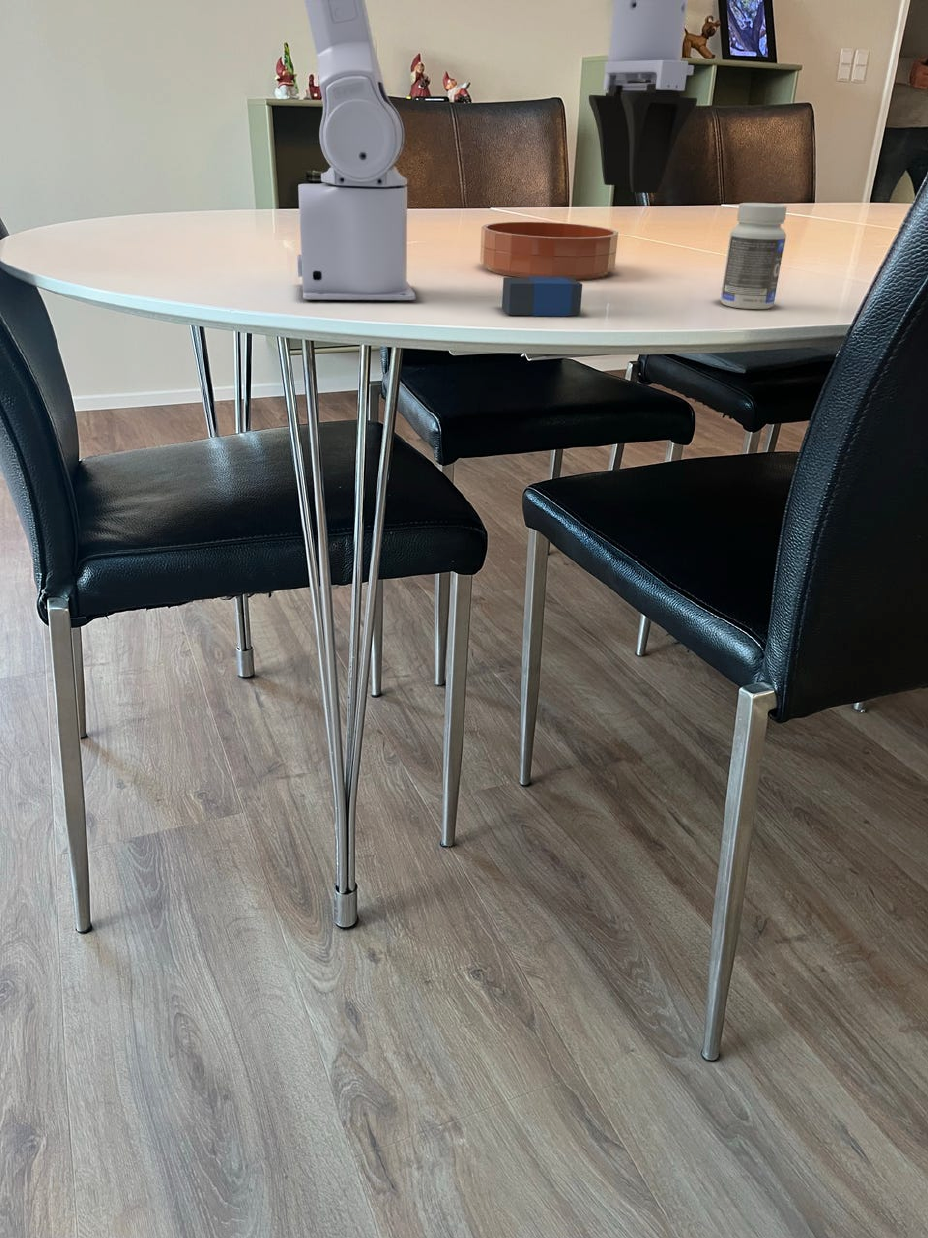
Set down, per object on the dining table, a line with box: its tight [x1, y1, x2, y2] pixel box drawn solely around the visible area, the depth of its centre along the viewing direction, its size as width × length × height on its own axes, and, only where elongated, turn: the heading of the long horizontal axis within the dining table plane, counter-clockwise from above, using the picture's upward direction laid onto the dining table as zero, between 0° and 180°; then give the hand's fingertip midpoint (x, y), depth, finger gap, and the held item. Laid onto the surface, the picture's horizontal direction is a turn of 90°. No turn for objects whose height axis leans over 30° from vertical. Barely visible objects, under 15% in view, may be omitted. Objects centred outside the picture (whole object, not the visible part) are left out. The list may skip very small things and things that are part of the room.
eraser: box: [501, 276, 583, 317], centre depth 79 cm, size 6×3×3 cm, turn 99°
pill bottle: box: [720, 202, 787, 310], centre depth 85 cm, size 5×5×8 cm
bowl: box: [479, 221, 619, 281], centre depth 100 cm, size 14×14×4 cm
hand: (629, 188), depth 81 cm, fingers open, 7 cm apart
